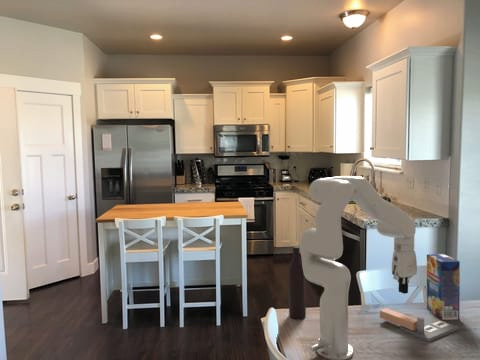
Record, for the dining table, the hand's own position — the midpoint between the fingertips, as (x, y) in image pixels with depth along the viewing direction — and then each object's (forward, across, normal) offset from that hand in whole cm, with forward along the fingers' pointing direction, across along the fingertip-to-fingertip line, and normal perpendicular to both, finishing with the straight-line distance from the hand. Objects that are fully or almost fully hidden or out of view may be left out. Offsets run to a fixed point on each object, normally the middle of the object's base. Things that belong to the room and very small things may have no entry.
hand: (403, 292), depth 151 cm
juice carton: (+12, +21, -4) cm, 24 cm away
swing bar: (+11, -5, -2) cm, 12 cm away
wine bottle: (+13, -32, +27) cm, 44 cm away
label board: (+12, +3, -10) cm, 16 cm away
